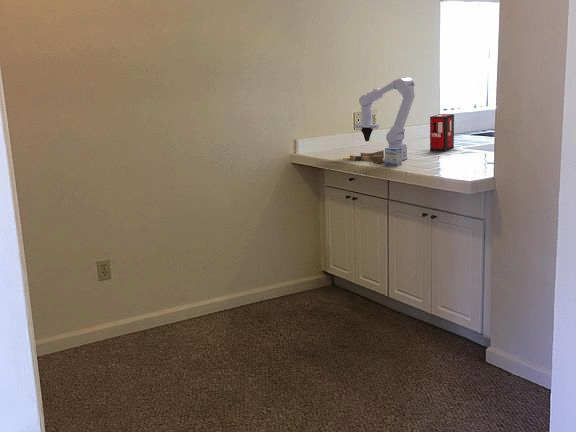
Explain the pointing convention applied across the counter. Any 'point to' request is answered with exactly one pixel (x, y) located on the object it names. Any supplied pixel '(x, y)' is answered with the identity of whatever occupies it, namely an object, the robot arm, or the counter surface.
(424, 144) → the counter surface
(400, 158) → the medicine box
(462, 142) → the counter surface
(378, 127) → the robot arm
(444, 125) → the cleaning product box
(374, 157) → the walnut crate
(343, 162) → the counter surface
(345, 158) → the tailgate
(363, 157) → the brown wooden drawer
